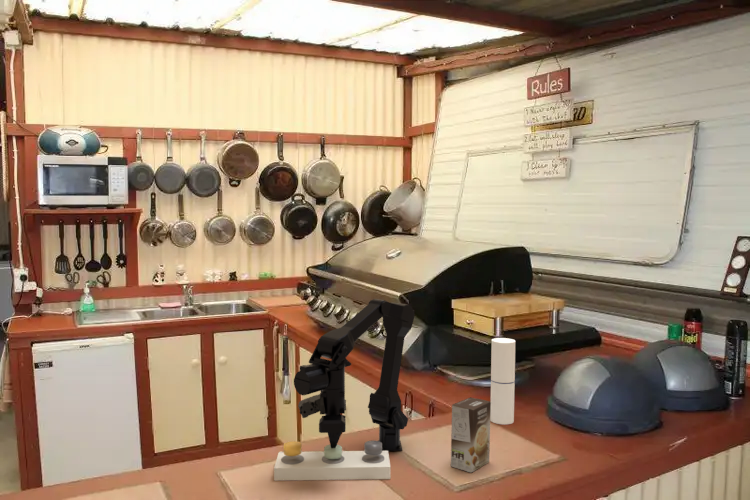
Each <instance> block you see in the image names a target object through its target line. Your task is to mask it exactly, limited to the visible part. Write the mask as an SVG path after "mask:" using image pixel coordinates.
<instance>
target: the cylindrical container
mask: <svg viewBox="0 0 750 500" xmlns="http://www.w3.org/2000/svg"><path fill="white" fill-rule="evenodd" d="M490 350H491V354H490V355H491V356H490V357H491V358H490V359H491V360H490V362H491V363H490V364H491V365H490V402H491V412H490V422H492V423H494V424H497V425H511V424H513V423H514V422H515V387H516V386H515V383H516V382H515V381H516V380H515V378H516V374H515V373H516V340H515V339H513V338H508V337H507V338H506V337H495V338H492V339H491V349H490Z"/></svg>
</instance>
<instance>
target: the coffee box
mask: <svg viewBox="0 0 750 500" xmlns="http://www.w3.org/2000/svg"><path fill="white" fill-rule="evenodd" d="M490 412H491V400H489V401H488V400H486V399H482V398H476V397H475V398H474V397H468V398H465V399H462V400H461V401H458V402H456V403H452V404H451V435H450V436H451V437H450V438H451V439H450V440H451V442H450V443H451V444H450V445H451V446H450V447H451V448H450V467H452V468H455V469H458V470H461V471H465V472H467V473H473V472H475V471H477V470H478V469H480V468H482V467H483V466H485V465H487V464H488V463H489V462H490V449H491V447H490V446H491V445H490V444H491V443H490V442H491V441H490V440H491V420H490Z"/></svg>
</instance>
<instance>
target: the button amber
mask: <svg viewBox="0 0 750 500" xmlns="http://www.w3.org/2000/svg"><path fill="white" fill-rule="evenodd" d="M302 449H303V448H302V443H301V442H299V441H295V440H294V441H293V440H292V441H287V442H284V444H283V452H284V455H286V456H297V455H300V454H301V453H302V452H303V451H302Z"/></svg>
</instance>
